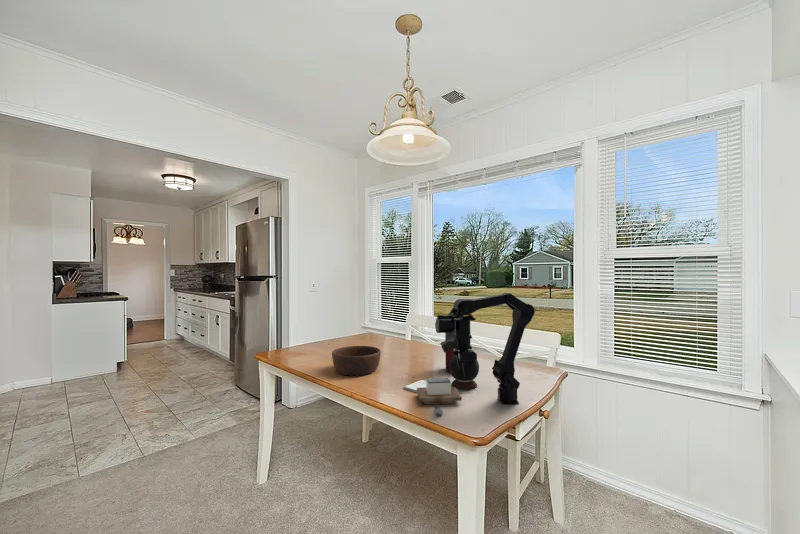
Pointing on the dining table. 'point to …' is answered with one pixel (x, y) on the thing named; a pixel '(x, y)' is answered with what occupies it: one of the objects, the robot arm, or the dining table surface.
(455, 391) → the stand
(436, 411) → the bolt
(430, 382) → the block
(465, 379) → the black orb on base
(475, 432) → the dining table surface
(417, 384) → the external hard drive
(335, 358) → the wooden bowl
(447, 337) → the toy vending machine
